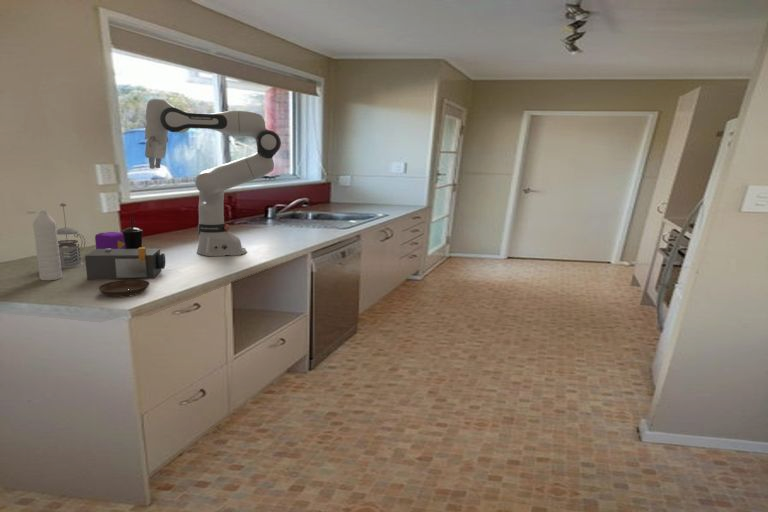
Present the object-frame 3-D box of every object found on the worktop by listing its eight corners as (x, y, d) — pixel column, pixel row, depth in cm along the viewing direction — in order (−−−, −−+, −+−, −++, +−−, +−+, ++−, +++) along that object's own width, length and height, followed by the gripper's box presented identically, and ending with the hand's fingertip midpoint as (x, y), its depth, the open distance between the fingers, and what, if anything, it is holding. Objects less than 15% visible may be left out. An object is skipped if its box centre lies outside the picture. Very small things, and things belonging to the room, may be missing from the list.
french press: (48, 266, 175) (41, 203, 169) (77, 260, 186) (71, 201, 180) (66, 269, 172) (58, 205, 166) (94, 263, 182) (88, 202, 177)
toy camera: (136, 250, 208) (134, 229, 206) (116, 257, 194) (114, 234, 192) (114, 249, 209) (112, 228, 207) (93, 255, 195) (91, 233, 193)
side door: (147, 276, 164) (145, 247, 161) (146, 277, 162) (144, 248, 160) (117, 276, 161) (114, 247, 159) (116, 278, 160) (113, 248, 157)
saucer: (90, 293, 146) (89, 285, 146) (135, 284, 158) (135, 276, 158) (113, 302, 138) (112, 294, 138) (158, 292, 150) (158, 284, 150)
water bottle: (52, 275, 163) (43, 207, 157) (66, 277, 162) (59, 209, 156) (29, 281, 154) (19, 210, 149) (44, 283, 153) (35, 211, 148)
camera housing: (166, 270, 176) (165, 246, 174) (159, 278, 165) (157, 253, 163) (99, 271, 170) (97, 246, 168) (87, 280, 159) (84, 253, 157)
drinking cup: (149, 261, 190) (145, 215, 185) (132, 264, 183) (128, 216, 178) (137, 258, 193) (133, 213, 188) (120, 262, 186) (116, 215, 181)
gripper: (158, 137, 186) (156, 170, 189) (169, 138, 205) (167, 168, 208) (141, 134, 184) (140, 168, 187) (154, 136, 204) (153, 166, 206)
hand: (154, 168), depth 198 cm, fingers open, 8 cm apart
